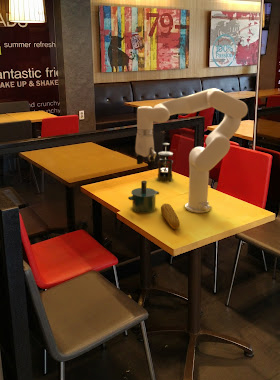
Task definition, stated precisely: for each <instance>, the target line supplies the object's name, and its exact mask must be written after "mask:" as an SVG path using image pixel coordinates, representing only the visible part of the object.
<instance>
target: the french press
mask: <svg viewBox="0 0 280 380" xmlns="http://www.w3.org/2000/svg"><path fill="white" fill-rule="evenodd" d="M162 145H163V146H164V149H165V150H164V151H159V152H158V153H157V154H158V157H159V159H158V160H157V164H158V169H157V178H156V180H157V181H158V182H169V183H170V182H173V164H174V160H172V159H169V158H167V157H172V158H173V154H174V153H173V152H172V151H167V147H168V146H169V145H170V143H168V142H163V143H162ZM163 166H164V167H163ZM166 166H167V167H166Z"/></svg>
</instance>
